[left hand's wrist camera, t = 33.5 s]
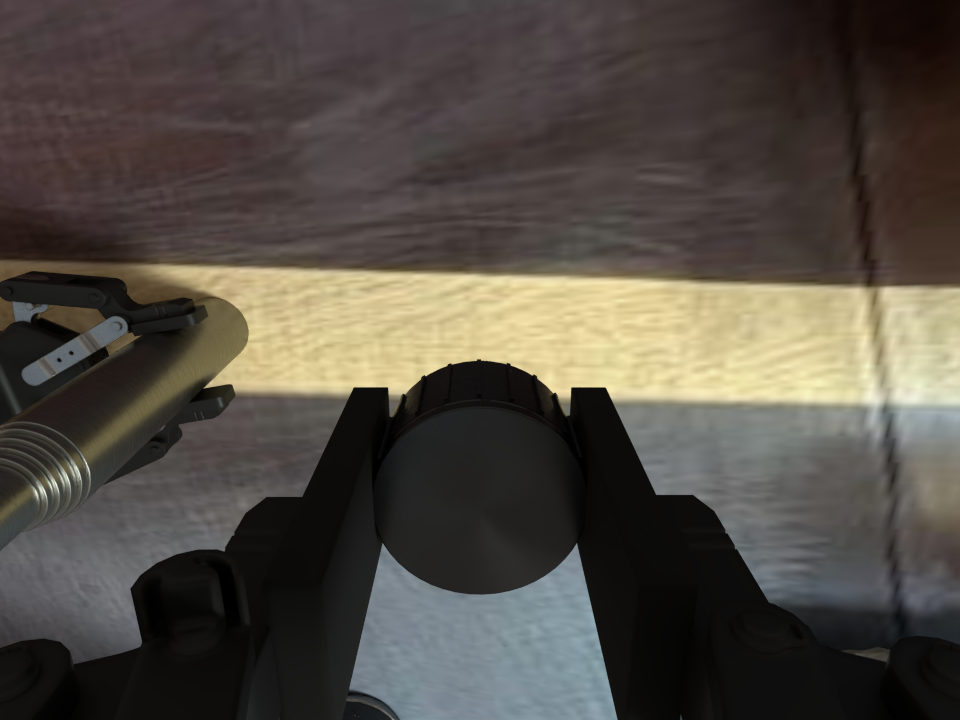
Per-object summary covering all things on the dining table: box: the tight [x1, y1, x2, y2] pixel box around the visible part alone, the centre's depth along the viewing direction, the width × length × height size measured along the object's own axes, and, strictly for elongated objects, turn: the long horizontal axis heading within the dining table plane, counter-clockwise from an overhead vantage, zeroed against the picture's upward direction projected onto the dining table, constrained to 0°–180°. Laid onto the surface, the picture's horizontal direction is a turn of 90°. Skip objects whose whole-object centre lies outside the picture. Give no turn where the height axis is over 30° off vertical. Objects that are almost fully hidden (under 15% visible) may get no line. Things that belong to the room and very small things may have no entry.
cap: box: [372, 359, 587, 595], centre depth 14 cm, size 4×4×2 cm
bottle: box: [0, 298, 248, 551], centre depth 34 cm, size 5×5×25 cm
